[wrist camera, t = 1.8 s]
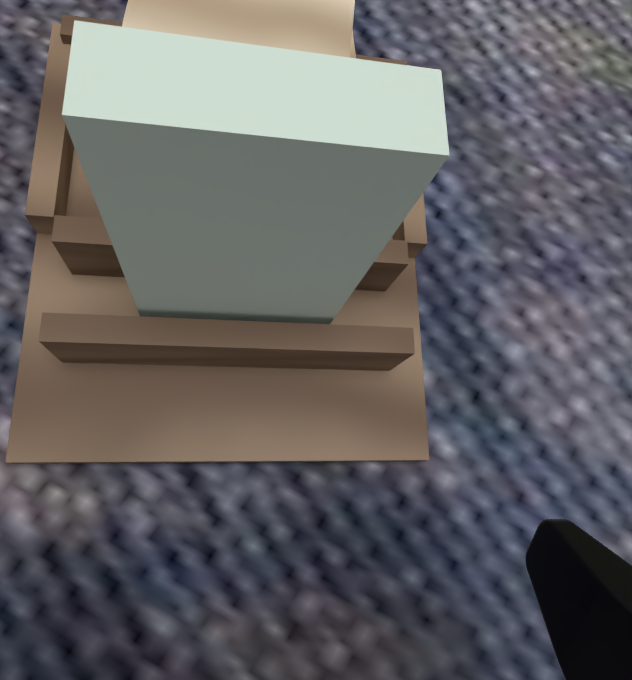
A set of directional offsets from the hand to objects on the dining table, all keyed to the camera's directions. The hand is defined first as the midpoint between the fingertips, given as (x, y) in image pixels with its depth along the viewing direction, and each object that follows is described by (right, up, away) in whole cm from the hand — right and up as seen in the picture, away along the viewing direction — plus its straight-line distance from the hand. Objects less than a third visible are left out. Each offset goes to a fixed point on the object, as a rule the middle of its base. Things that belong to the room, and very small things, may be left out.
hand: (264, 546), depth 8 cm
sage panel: (-3, +4, +14) cm, 15 cm away
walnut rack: (-3, +6, +16) cm, 17 cm away
